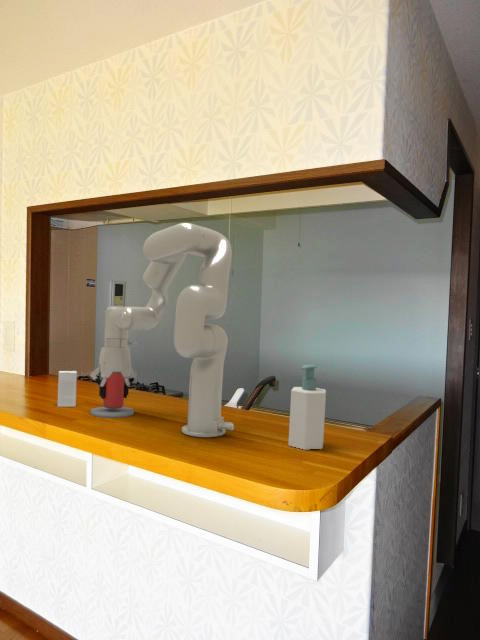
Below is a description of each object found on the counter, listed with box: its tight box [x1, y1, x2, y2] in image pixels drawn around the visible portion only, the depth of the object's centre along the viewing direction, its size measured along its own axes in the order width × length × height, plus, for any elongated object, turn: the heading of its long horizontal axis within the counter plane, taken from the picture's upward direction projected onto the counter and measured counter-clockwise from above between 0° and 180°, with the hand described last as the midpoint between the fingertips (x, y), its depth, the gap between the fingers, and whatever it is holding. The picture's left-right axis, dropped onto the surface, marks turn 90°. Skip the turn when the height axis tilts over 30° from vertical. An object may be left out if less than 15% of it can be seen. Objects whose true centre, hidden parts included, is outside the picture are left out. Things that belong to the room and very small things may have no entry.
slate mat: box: [90, 406, 135, 419], centre depth 164 cm, size 14×14×1 cm
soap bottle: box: [287, 364, 327, 451], centre depth 135 cm, size 10×9×22 cm
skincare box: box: [57, 370, 78, 408], centre depth 172 cm, size 6×4×12 cm
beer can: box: [102, 372, 125, 409], centre depth 164 cm, size 7×7×12 cm
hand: (113, 397), depth 164 cm, fingers closed on beer can, 6 cm apart
